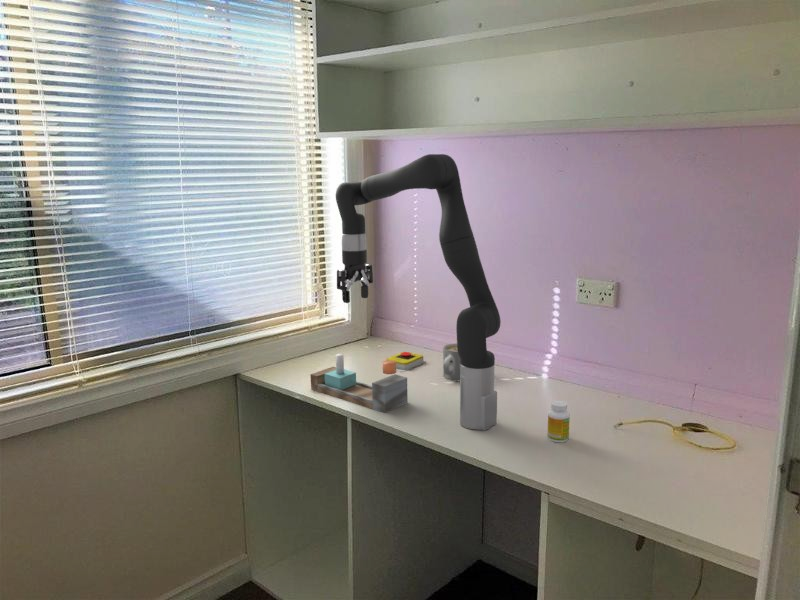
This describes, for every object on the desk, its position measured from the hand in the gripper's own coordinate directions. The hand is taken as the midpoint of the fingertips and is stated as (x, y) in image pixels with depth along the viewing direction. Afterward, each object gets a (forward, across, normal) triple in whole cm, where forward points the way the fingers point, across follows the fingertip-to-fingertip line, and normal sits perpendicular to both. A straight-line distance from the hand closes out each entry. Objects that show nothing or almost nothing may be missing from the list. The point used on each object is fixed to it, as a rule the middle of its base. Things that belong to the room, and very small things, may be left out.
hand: (355, 300), depth 204 cm
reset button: (+18, -6, -17) cm, 26 cm away
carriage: (+27, -4, +4) cm, 28 cm away
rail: (+29, -5, -3) cm, 30 cm away
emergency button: (+30, +29, +3) cm, 41 cm away
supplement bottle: (+29, +1, -67) cm, 73 cm away
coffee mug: (+29, +27, -19) cm, 44 cm away
